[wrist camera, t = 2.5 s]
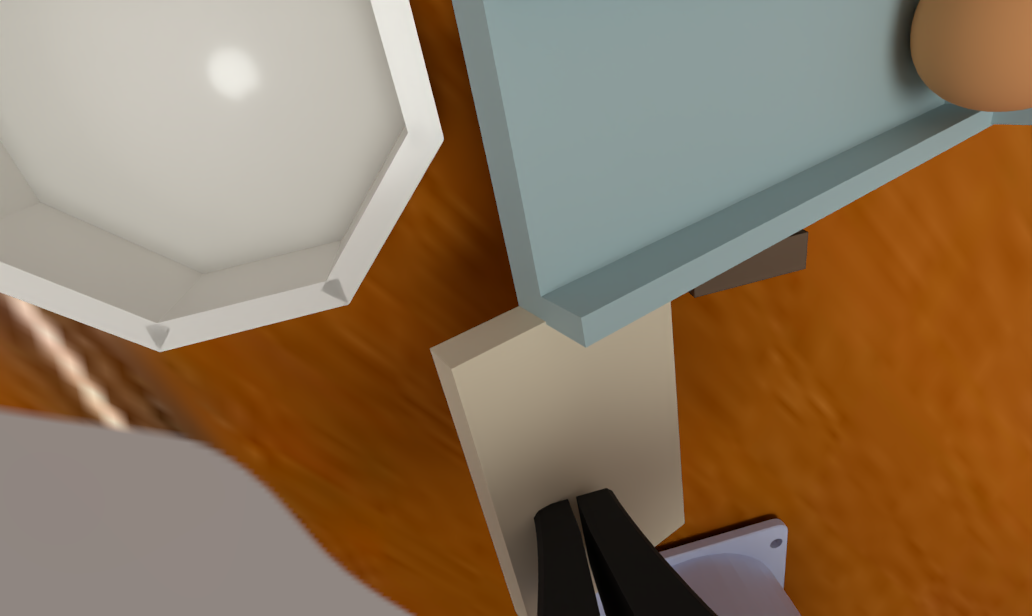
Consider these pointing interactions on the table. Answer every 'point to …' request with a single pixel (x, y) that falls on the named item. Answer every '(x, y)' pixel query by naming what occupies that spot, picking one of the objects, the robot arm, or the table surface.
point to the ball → (975, 52)
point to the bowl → (204, 157)
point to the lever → (652, 216)
